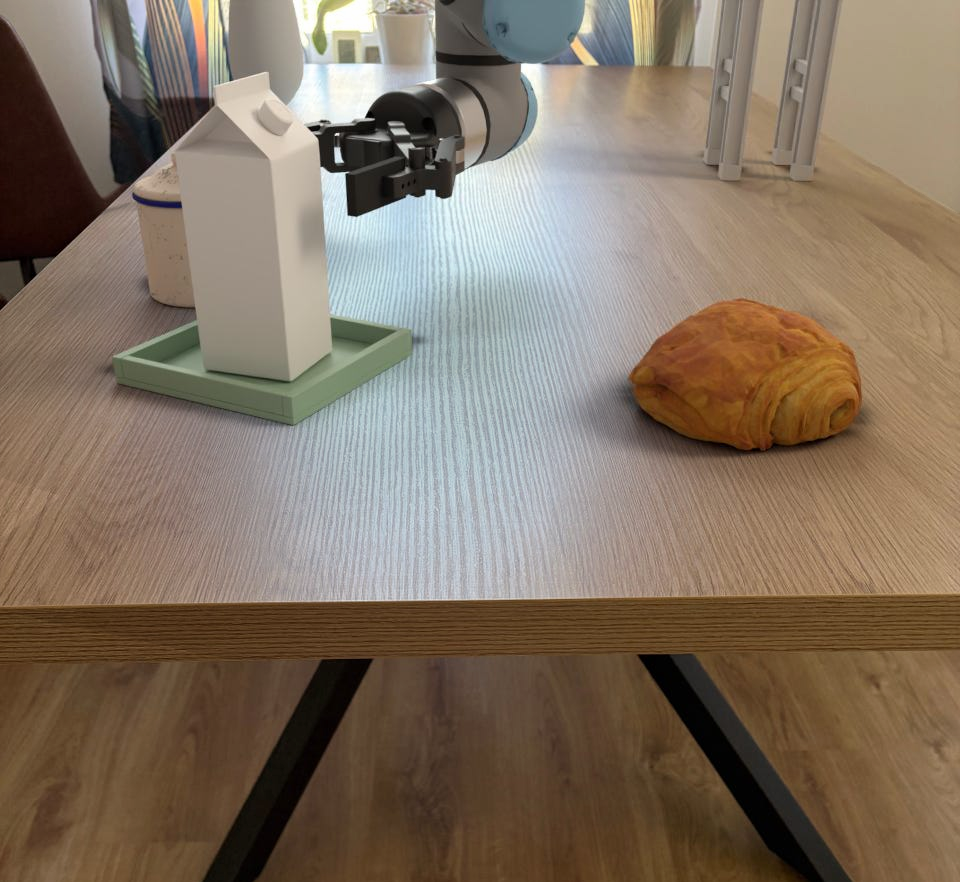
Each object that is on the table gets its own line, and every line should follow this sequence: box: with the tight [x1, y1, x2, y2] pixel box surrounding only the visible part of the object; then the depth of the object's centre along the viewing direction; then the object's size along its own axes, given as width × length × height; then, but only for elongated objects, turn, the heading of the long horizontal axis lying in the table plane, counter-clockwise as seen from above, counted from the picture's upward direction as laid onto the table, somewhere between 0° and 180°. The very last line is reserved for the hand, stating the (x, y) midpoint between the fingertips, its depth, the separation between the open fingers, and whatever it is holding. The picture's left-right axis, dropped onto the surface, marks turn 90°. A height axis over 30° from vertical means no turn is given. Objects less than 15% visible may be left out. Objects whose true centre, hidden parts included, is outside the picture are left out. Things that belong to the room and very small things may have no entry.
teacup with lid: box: [131, 150, 195, 308], centre depth 96 cm, size 12×9×12 cm
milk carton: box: [174, 72, 332, 381], centre depth 78 cm, size 7×7×19 cm
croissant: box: [627, 297, 863, 452], centre depth 76 cm, size 14×16×8 cm
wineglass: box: [227, 0, 305, 107], centre depth 119 cm, size 8×8×21 cm
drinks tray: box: [111, 313, 413, 426], centre depth 83 cm, size 16×16×2 cm
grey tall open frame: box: [702, 0, 843, 182], centre depth 133 cm, size 16×16×35 cm
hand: (268, 184), depth 78 cm, fingers open, 13 cm apart
